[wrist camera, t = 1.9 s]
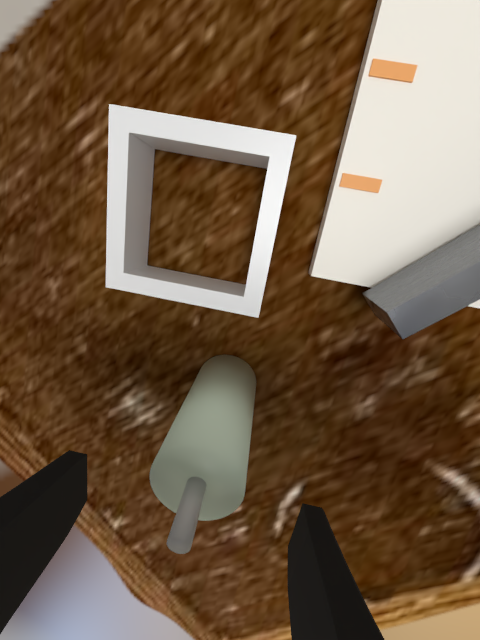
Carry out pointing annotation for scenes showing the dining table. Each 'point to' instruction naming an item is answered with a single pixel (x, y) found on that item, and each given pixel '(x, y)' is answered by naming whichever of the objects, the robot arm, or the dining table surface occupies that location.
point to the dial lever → (430, 287)
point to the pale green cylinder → (207, 449)
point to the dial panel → (406, 144)
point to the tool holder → (136, 193)
